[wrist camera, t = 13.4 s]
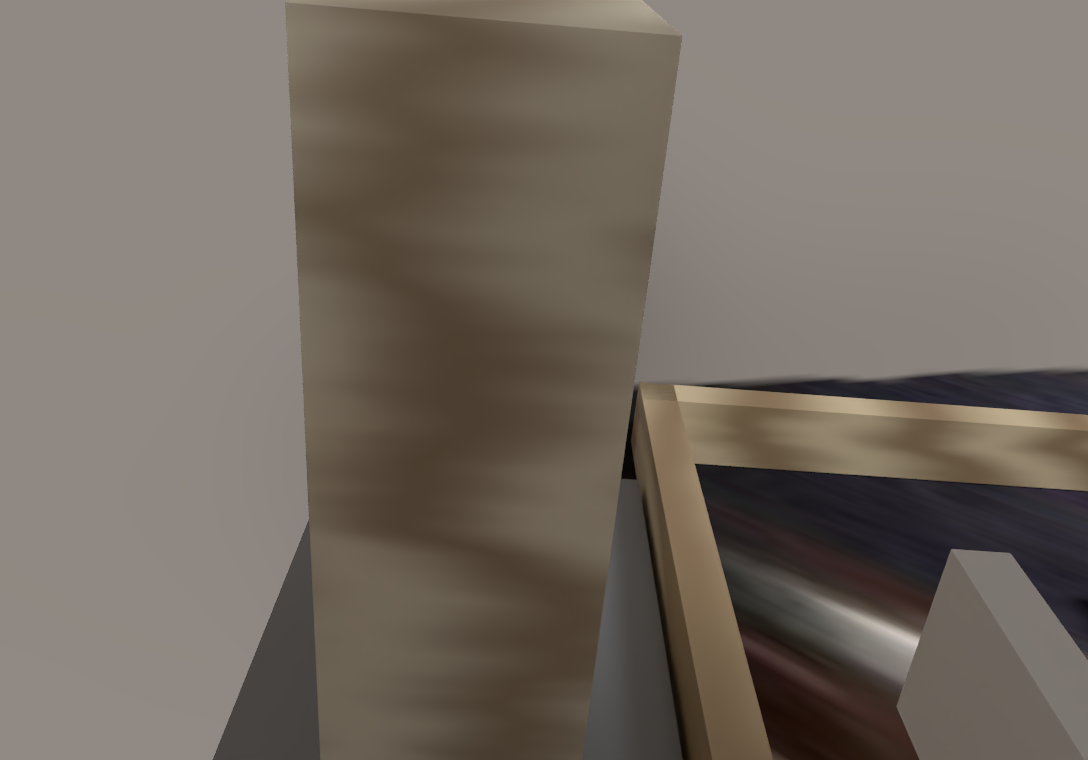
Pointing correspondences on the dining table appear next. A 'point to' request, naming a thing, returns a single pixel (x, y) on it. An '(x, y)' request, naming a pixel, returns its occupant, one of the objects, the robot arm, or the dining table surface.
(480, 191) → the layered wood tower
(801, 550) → the dining table surface
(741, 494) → the dining table surface
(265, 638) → the slate board
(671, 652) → the wooden frame
